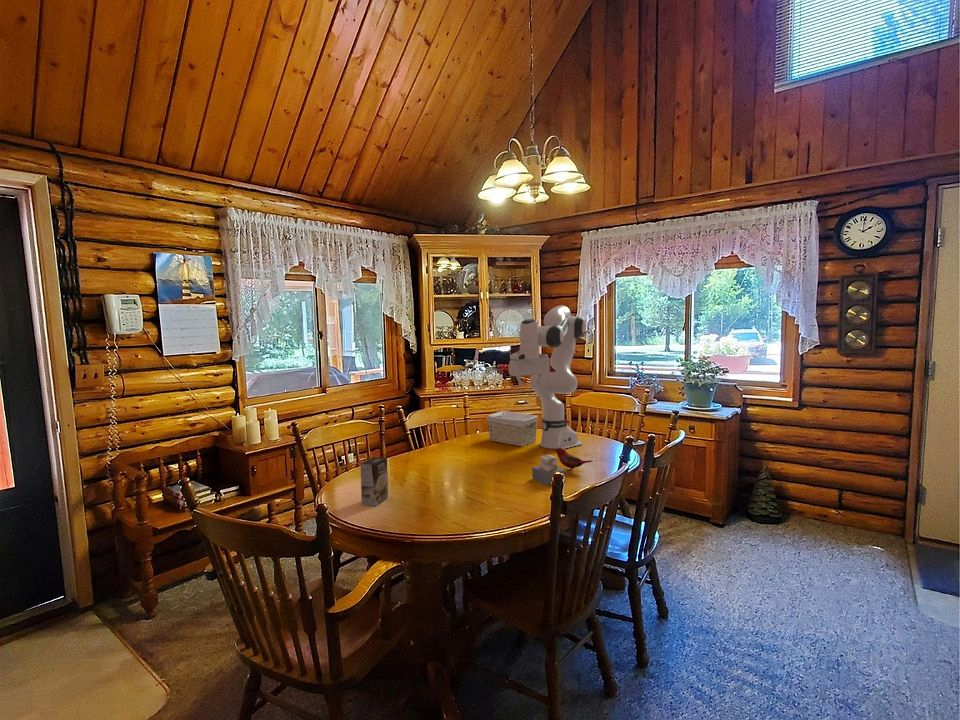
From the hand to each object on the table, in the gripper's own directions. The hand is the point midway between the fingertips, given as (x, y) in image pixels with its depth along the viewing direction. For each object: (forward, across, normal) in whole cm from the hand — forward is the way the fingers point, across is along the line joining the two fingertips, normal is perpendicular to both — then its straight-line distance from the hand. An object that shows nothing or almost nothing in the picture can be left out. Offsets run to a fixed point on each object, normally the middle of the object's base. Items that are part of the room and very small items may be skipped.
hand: (529, 384), depth 236 cm
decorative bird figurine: (+37, -10, +21) cm, 44 cm away
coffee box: (+37, +77, +14) cm, 87 cm away
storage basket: (+37, -11, -38) cm, 55 cm away
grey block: (+37, +6, +25) cm, 45 cm away
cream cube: (+32, +6, +25) cm, 41 cm away
